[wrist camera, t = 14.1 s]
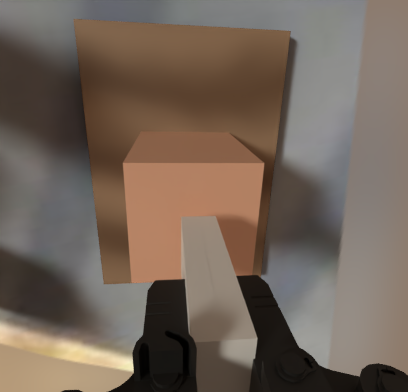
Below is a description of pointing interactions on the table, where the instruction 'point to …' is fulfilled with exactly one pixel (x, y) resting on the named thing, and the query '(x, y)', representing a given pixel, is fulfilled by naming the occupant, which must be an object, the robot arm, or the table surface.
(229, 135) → the tall salmon block
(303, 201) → the table surface
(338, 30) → the table surface
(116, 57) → the post board
